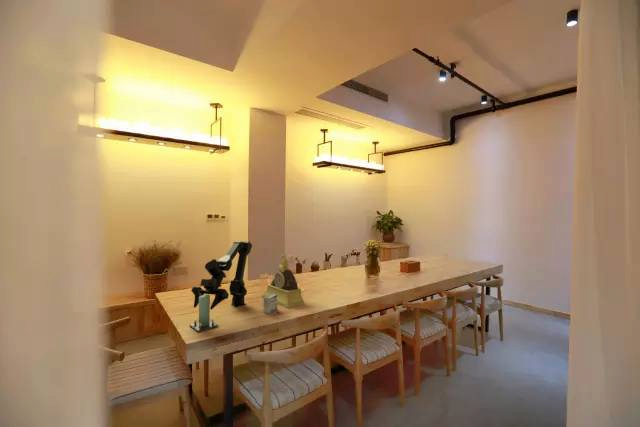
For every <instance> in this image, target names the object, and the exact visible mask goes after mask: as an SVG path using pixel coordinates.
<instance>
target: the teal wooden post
mask: <svg viewBox="0 0 640 427" xmlns="http://www.w3.org/2000/svg"><path fill="white" fill-rule="evenodd" d="M210 307H211V294H204V295H202V296H199V304H198V322H199V323H202V327H203V326H208V325H209V324H210V320H211V319H210V312H211V309H210Z"/></svg>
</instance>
